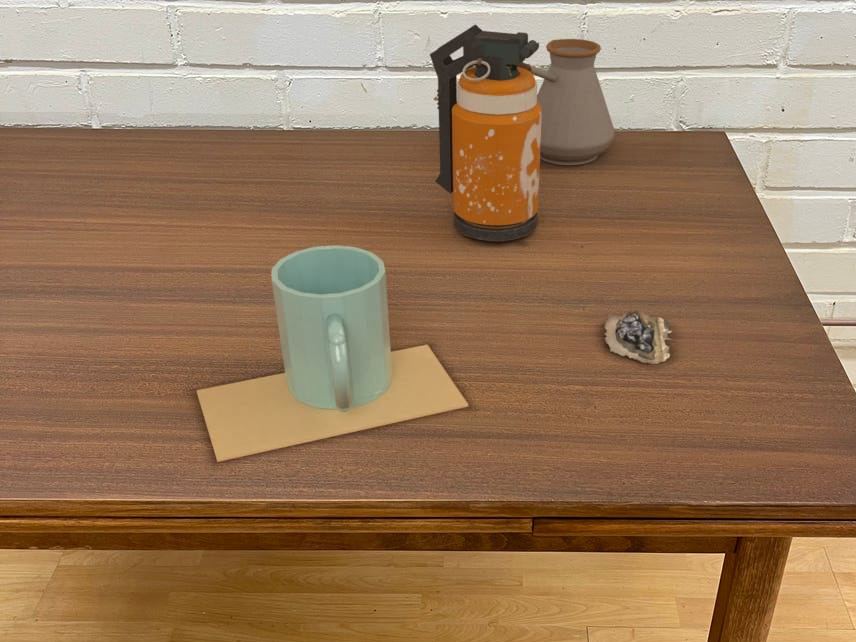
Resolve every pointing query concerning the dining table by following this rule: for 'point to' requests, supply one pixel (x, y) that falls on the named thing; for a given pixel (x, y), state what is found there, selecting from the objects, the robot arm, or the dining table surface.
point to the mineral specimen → (638, 336)
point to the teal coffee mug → (333, 325)
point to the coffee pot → (572, 104)
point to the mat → (299, 423)
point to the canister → (489, 133)
